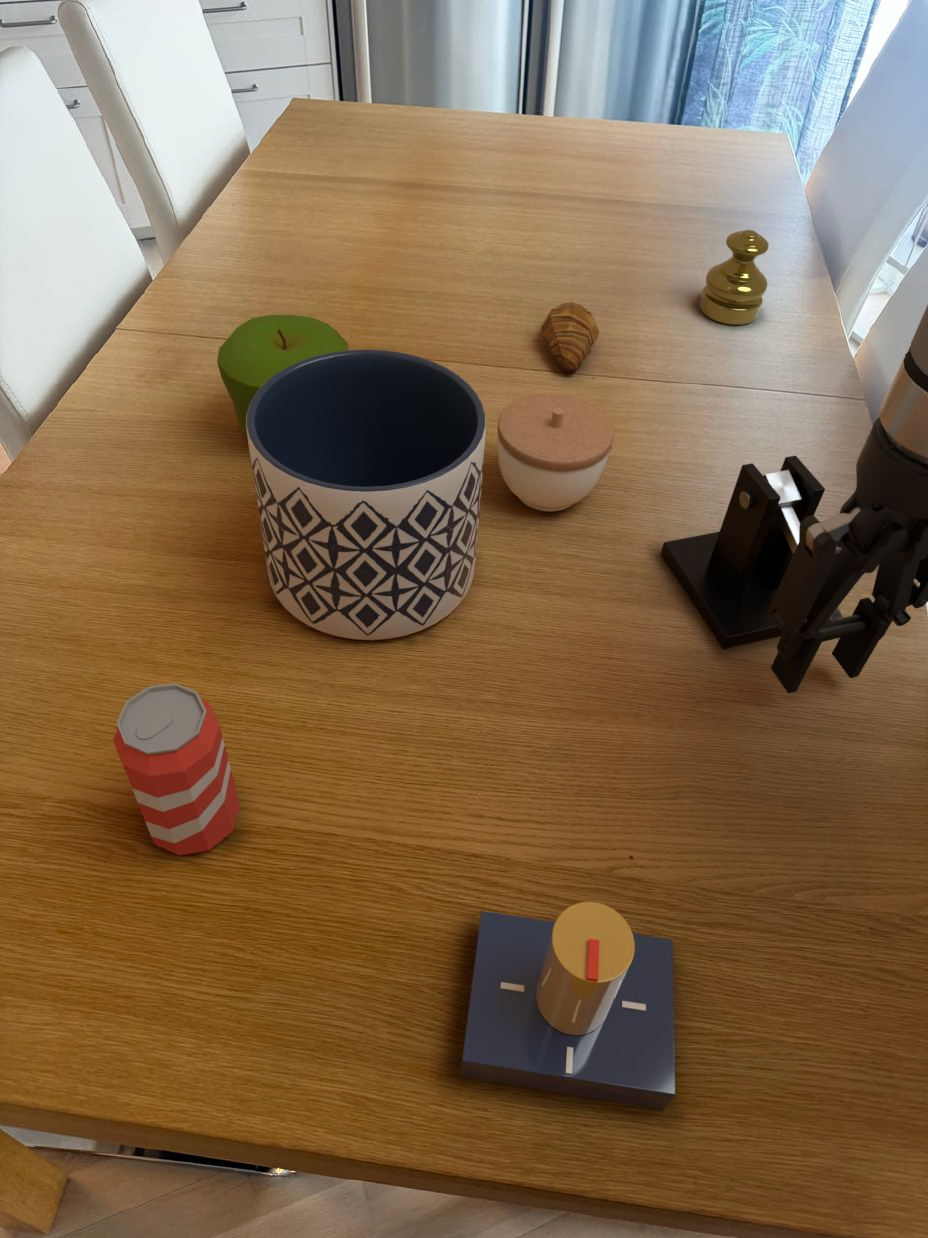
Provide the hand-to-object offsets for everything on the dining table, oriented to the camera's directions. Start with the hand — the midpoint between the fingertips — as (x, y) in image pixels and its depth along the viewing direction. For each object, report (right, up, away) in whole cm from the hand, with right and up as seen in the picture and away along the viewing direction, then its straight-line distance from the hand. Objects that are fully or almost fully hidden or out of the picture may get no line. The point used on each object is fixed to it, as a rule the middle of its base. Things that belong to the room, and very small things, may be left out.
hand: (814, 671), depth 75 cm
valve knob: (-22, -18, -20) cm, 35 cm away
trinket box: (-20, +17, +16) cm, 31 cm away
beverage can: (-47, -10, -10) cm, 49 cm away
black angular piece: (-4, +7, +8) cm, 11 cm away
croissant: (-16, +36, +34) cm, 52 cm away
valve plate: (-22, -20, -18) cm, 35 cm away
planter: (-36, +9, +8) cm, 38 cm away
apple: (-46, +24, +21) cm, 56 cm away
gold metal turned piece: (+5, +43, +42) cm, 60 cm away
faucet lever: (-2, +9, -1) cm, 9 cm away
